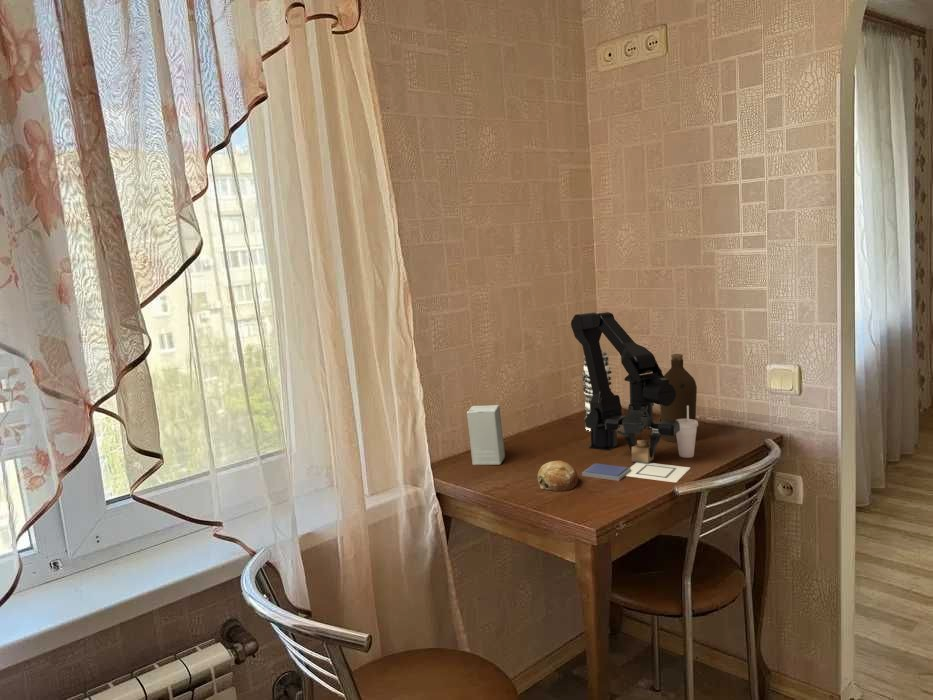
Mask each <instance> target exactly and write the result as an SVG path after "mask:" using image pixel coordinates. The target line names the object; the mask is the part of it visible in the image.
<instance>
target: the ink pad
mask: <svg viewBox="0 0 933 700" xmlns="http://www.w3.org/2000/svg"><path fill="white" fill-rule="evenodd" d="M630 471H631V468H630V467H627V466H622V465H621V466H619V465H611V464H603V463H593V464H591V465H590V466H589V467H587V468H586V469H585V470H584V471H582V472H581V476H582V477H587V478H590V477H591V478H596V479H603V480H609V481H611V480H612V481H617V482H620V481H621V480H622V479H623V478H624V477H626V476H625V475H626V474H627V473H629V472H630Z"/></svg>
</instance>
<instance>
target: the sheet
mask: <svg viewBox="0 0 933 700" xmlns="http://www.w3.org/2000/svg"><path fill="white" fill-rule="evenodd" d="M629 468H631V471H630V472H629V473H627V474H626V475H625V476H624V477H631V478H639V479H644V480H645V479H647V480H655V481H660V482H661V481H662V482H668V483H678V481H679V480H681V478H682V477H683V476H684V475H686V474H687V472H688V471H689V470H690V469H691V467H690V466H689V467H688V466H680V465H671V464H662V463H655V462H650V463H648V464H646V463H638V462H634V464H633V465H631V466H630V467H629Z"/></svg>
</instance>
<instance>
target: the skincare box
mask: <svg viewBox="0 0 933 700" xmlns="http://www.w3.org/2000/svg"><path fill="white" fill-rule="evenodd" d="M466 417H467V425H468V427H467V428H468V435H469V443H470V455H471V461H472V462H471V463H472V465H473V466H481V465H482V466H486V465H487V466H489V465H490V466H491V465H492V466H494V465H496V466H497V465H501V464H502V462H503V461H504V460H505V458H506V454H505V444H504V443H505V442H504V435H503V425H502V416H501V407H500V404H492V405H491V404H490V405H472V406H471V407H470V408H469V409H468V410H467V412H466Z"/></svg>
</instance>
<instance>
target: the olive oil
mask: <svg viewBox="0 0 933 700" xmlns="http://www.w3.org/2000/svg"><path fill="white" fill-rule="evenodd" d="M670 355H671V359H670V365H671V367H670V369H669V370H668V371H667V372H666V373H665V374H663V376H664V377H663V378H662V379H669V384H671V385H672V386H673V387H674V389H675V391H676V397H675V400H674V402H673V403H672V404H671V405H669V406H663V405H659V408H660V419H659V423H660V422H662V421H663V420H664V419H665V420H677V419H687V406H689V419H694V420H697V418H696V416H697V415H696V414H697V394H698V393H697V391H698V387H697V383H696V380H695V379H694V377H693V376H692V375H691V374H690V372H688V371H687V369H685V368H684V359H683V354H681V353H672V354H670ZM661 438H662V439H663V440H664V441H666V442H670V443H677V437H676V434H675V435H673V436H668V435H663V436H662V437H661Z"/></svg>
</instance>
